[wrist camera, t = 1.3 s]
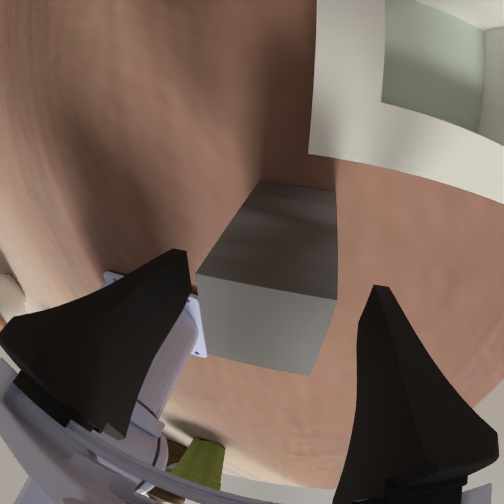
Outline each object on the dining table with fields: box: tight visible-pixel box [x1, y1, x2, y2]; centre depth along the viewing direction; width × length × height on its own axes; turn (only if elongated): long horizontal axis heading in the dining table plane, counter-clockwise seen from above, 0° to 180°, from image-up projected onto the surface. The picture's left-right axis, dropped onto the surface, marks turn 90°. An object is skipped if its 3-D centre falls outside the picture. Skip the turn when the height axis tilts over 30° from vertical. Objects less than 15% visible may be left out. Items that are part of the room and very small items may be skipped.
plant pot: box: [170, 438, 225, 490], centre depth 43 cm, size 12×12×11 cm
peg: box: [195, 181, 338, 376], centre depth 12 cm, size 4×4×8 cm
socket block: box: [308, 0, 504, 204], centre depth 7 cm, size 11×11×3 cm
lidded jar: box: [0, 274, 26, 331], centre depth 31 cm, size 11×11×9 cm
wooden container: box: [147, 440, 187, 504], centre depth 53 cm, size 15×15×22 cm
